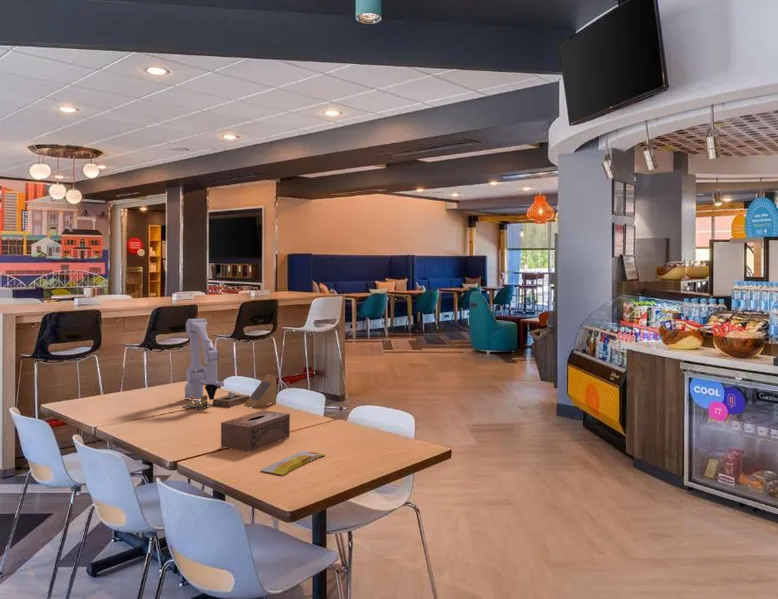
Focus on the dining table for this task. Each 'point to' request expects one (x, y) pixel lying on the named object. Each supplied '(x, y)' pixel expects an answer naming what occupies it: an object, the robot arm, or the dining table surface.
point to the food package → (292, 462)
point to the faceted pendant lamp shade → (199, 404)
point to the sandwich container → (263, 393)
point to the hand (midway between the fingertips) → (211, 399)
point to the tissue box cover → (255, 430)
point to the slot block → (235, 401)
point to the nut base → (197, 401)
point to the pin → (230, 395)
